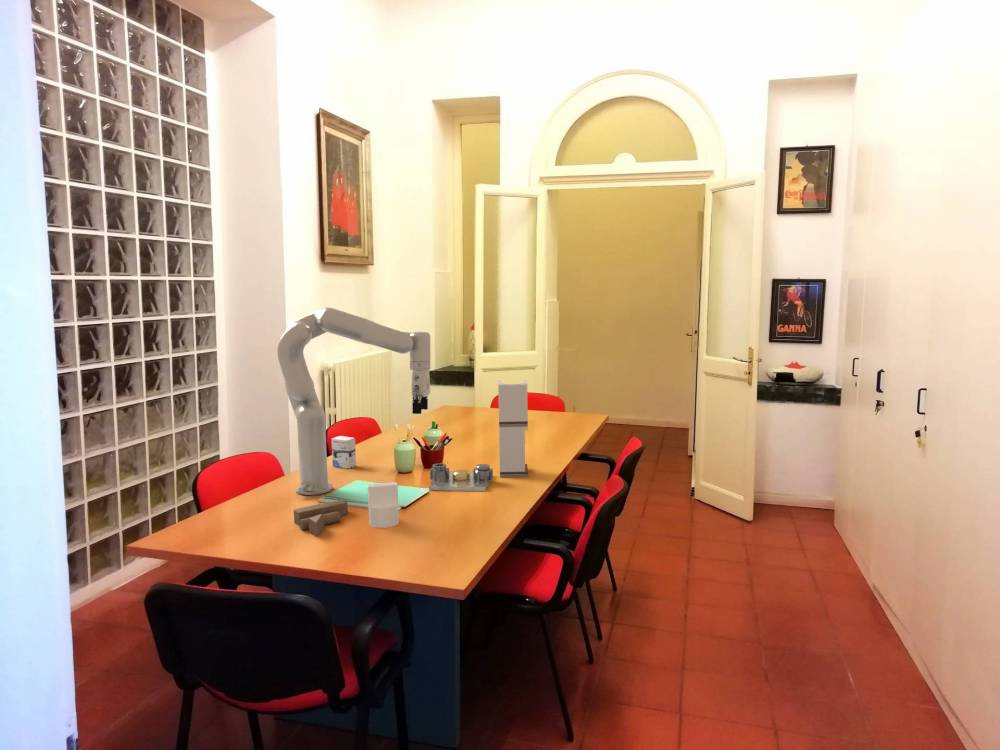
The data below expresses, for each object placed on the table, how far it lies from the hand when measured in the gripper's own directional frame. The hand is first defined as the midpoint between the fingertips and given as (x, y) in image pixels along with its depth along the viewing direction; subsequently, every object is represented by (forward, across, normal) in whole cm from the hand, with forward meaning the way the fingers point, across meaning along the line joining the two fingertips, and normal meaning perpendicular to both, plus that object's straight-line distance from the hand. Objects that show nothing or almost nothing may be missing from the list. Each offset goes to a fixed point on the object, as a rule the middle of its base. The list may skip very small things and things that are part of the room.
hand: (420, 411), depth 258 cm
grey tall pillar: (+25, +10, -34) cm, 43 cm away
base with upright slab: (+26, -49, -1) cm, 56 cm away
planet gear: (+24, -5, -8) cm, 26 cm away
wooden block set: (+27, -51, +15) cm, 60 cm away
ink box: (+26, +15, +35) cm, 46 cm away
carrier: (+25, -4, -17) cm, 30 cm away
